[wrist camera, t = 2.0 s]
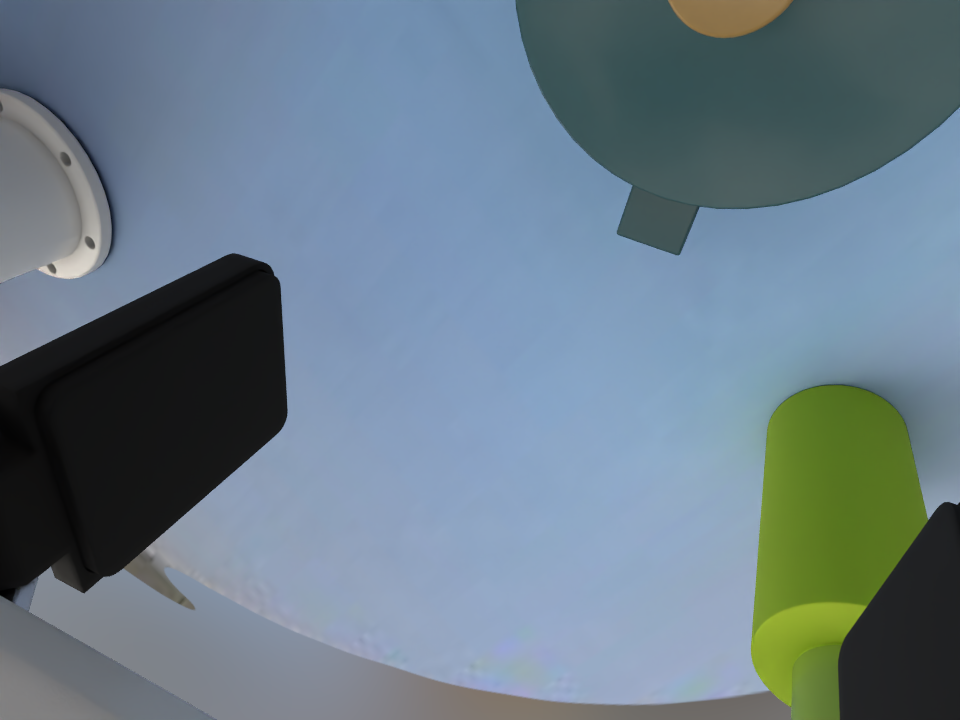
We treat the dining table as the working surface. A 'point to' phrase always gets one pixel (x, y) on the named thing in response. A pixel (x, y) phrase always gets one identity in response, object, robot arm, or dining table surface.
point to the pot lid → (744, 89)
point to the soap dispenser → (827, 535)
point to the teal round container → (656, 221)
